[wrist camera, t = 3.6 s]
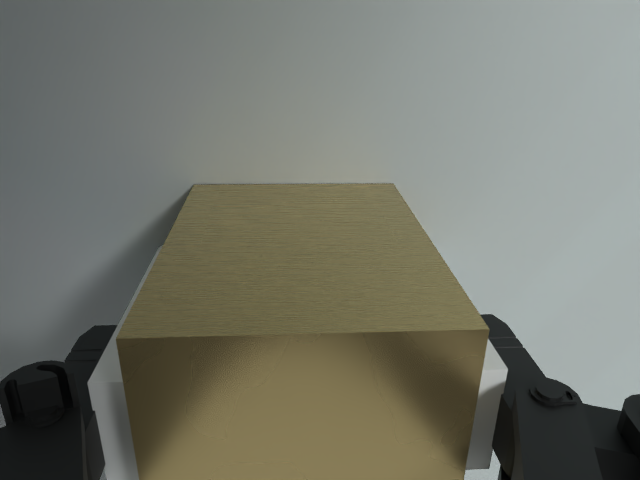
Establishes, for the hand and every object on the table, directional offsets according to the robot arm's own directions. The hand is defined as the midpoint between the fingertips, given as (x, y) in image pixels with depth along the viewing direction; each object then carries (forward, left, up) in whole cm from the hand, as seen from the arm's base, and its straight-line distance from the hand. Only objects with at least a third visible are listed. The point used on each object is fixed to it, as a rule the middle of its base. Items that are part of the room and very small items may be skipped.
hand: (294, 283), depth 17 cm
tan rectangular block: (0, 0, 0) cm, 0 cm away
